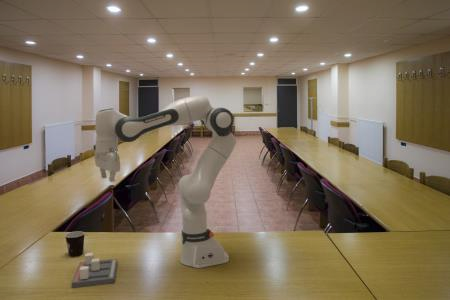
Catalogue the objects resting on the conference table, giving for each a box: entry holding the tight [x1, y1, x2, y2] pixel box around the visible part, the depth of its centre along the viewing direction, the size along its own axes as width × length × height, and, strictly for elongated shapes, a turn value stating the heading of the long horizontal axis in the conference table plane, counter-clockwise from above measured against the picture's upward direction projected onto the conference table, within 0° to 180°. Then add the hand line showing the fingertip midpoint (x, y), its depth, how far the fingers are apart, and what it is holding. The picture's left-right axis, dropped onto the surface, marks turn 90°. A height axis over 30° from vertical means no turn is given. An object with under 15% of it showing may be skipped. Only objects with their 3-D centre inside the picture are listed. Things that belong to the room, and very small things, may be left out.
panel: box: [71, 258, 118, 289], centre depth 155 cm, size 16×20×2 cm
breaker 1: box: [80, 266, 89, 279], centre depth 147 cm, size 3×3×4 cm
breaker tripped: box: [91, 257, 101, 271], centre depth 154 cm, size 3×3×4 cm
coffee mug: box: [64, 230, 85, 258], centre depth 175 cm, size 12×9×10 cm
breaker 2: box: [84, 252, 94, 265], centre depth 160 cm, size 3×3×4 cm
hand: (107, 179), depth 155 cm, fingers open, 8 cm apart
